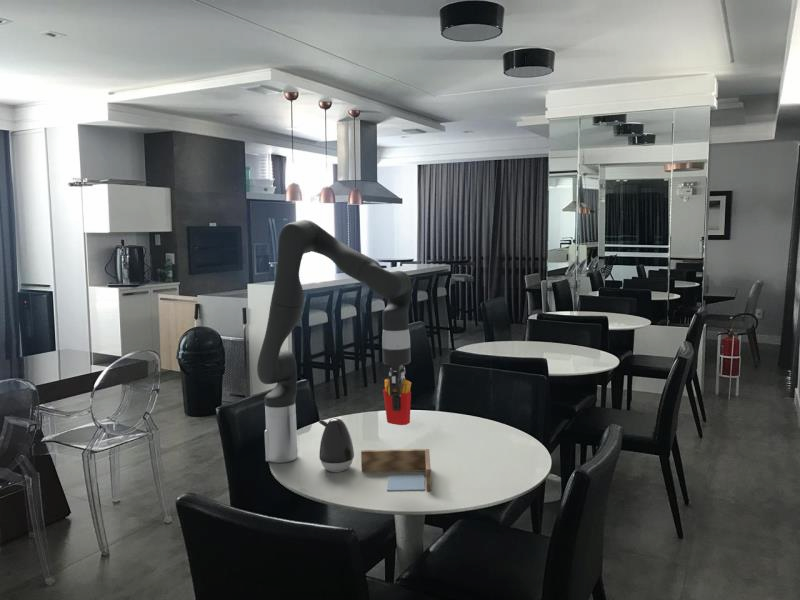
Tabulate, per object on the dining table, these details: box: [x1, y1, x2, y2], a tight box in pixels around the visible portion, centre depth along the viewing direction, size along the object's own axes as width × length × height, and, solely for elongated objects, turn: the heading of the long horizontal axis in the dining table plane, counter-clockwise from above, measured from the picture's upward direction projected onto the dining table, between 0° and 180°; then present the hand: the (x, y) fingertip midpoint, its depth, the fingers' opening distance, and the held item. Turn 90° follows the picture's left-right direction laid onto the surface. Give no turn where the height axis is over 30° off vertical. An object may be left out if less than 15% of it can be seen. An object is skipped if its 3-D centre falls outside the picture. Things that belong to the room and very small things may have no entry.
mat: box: [386, 474, 426, 492], centre depth 182 cm, size 10×10×1 cm
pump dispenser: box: [318, 417, 355, 473], centre depth 193 cm, size 10×10×15 cm
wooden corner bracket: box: [360, 448, 432, 492], centre depth 184 cm, size 20×16×6 cm
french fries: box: [382, 378, 412, 426], centre depth 179 cm, size 8×4×12 cm, turn 55°
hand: (398, 407), depth 179 cm, fingers closed on french fries, 4 cm apart
